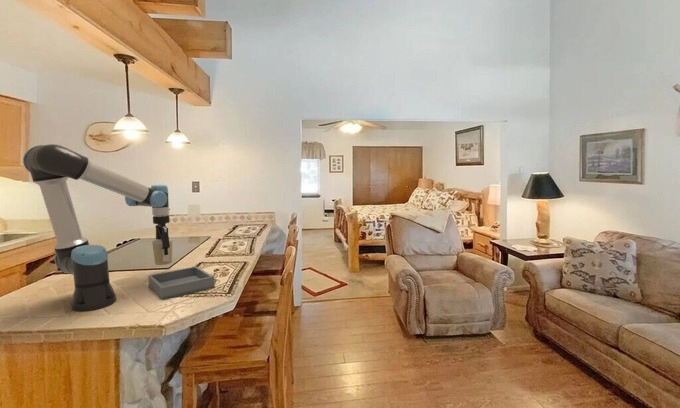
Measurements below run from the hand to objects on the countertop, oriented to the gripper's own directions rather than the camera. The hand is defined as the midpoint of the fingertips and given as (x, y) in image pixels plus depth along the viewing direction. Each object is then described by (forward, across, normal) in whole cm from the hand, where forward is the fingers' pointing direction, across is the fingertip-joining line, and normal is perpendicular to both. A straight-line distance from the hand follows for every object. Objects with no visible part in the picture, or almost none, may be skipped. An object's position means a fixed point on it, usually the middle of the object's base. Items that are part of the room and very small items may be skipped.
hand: (163, 259), depth 184 cm
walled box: (+8, -26, -1) cm, 27 cm away
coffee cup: (+2, 0, 0) cm, 2 cm away
